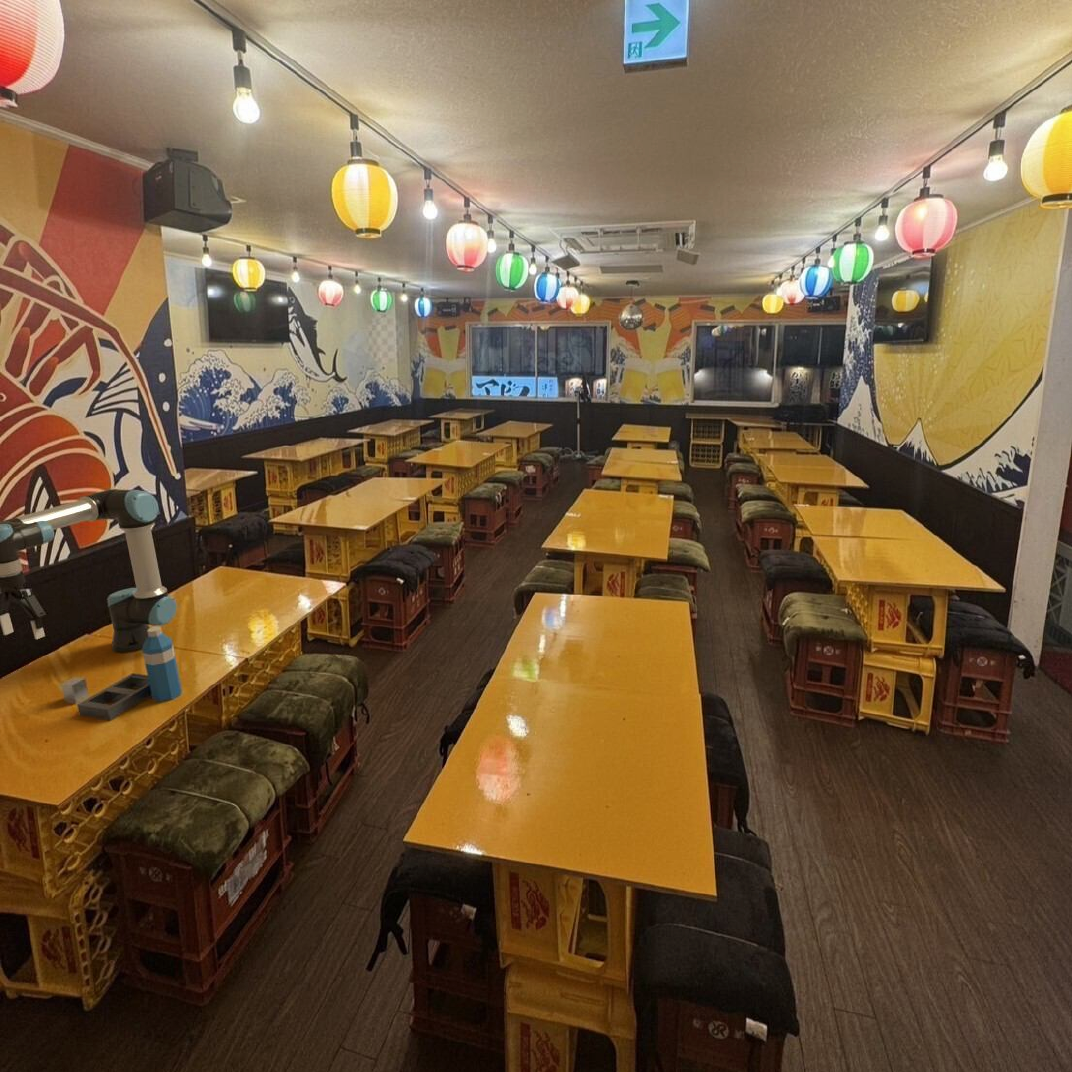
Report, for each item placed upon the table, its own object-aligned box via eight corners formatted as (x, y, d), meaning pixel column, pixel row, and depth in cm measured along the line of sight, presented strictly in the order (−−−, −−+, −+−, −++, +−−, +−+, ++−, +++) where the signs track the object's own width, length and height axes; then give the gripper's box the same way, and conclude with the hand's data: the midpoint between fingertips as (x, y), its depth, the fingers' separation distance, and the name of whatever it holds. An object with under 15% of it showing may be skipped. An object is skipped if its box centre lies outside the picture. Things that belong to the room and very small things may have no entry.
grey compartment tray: (134, 683, 244) (132, 673, 243) (163, 687, 240) (161, 677, 239) (79, 715, 224) (77, 704, 223) (110, 720, 220) (108, 709, 219)
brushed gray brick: (78, 694, 237) (74, 676, 235) (89, 696, 236) (85, 678, 234) (65, 702, 232) (60, 683, 230) (76, 703, 231) (71, 685, 229)
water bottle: (177, 685, 241) (164, 621, 234) (186, 694, 235) (173, 628, 228) (148, 695, 235) (134, 629, 228) (157, 705, 229) (143, 637, 222)
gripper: (-34, 574, 213) (-16, 636, 219) (26, 580, 206) (42, 644, 212) (-9, 566, 220) (7, 627, 226) (49, 572, 213) (64, 634, 219)
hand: (24, 635), depth 219 cm, fingers open, 13 cm apart
